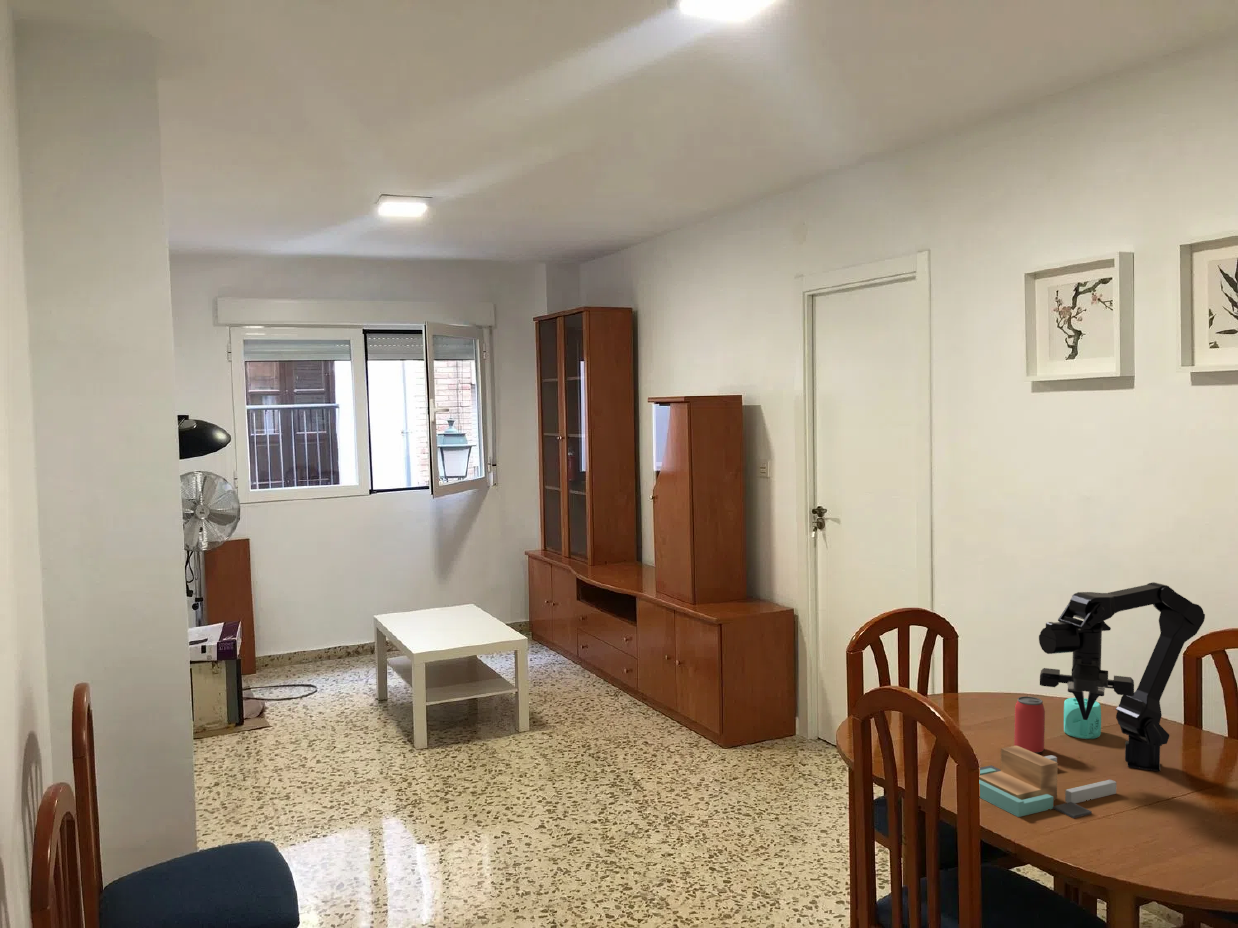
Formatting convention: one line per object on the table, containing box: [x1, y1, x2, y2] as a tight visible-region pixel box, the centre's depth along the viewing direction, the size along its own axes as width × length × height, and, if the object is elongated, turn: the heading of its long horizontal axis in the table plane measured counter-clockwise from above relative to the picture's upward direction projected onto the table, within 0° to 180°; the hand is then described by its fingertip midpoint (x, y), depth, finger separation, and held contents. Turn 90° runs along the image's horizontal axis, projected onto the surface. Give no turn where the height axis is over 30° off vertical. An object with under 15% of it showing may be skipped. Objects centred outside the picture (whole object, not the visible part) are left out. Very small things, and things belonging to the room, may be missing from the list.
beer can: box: [1013, 695, 1046, 754], centre depth 231 cm, size 7×7×12 cm
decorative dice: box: [1063, 697, 1102, 740], centre depth 241 cm, size 8×8×8 cm
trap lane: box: [979, 754, 1117, 819], centre depth 208 cm, size 28×27×3 cm
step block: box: [979, 745, 1059, 801], centre depth 205 cm, size 11×11×8 cm
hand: (1085, 719), depth 216 cm, fingers closed
